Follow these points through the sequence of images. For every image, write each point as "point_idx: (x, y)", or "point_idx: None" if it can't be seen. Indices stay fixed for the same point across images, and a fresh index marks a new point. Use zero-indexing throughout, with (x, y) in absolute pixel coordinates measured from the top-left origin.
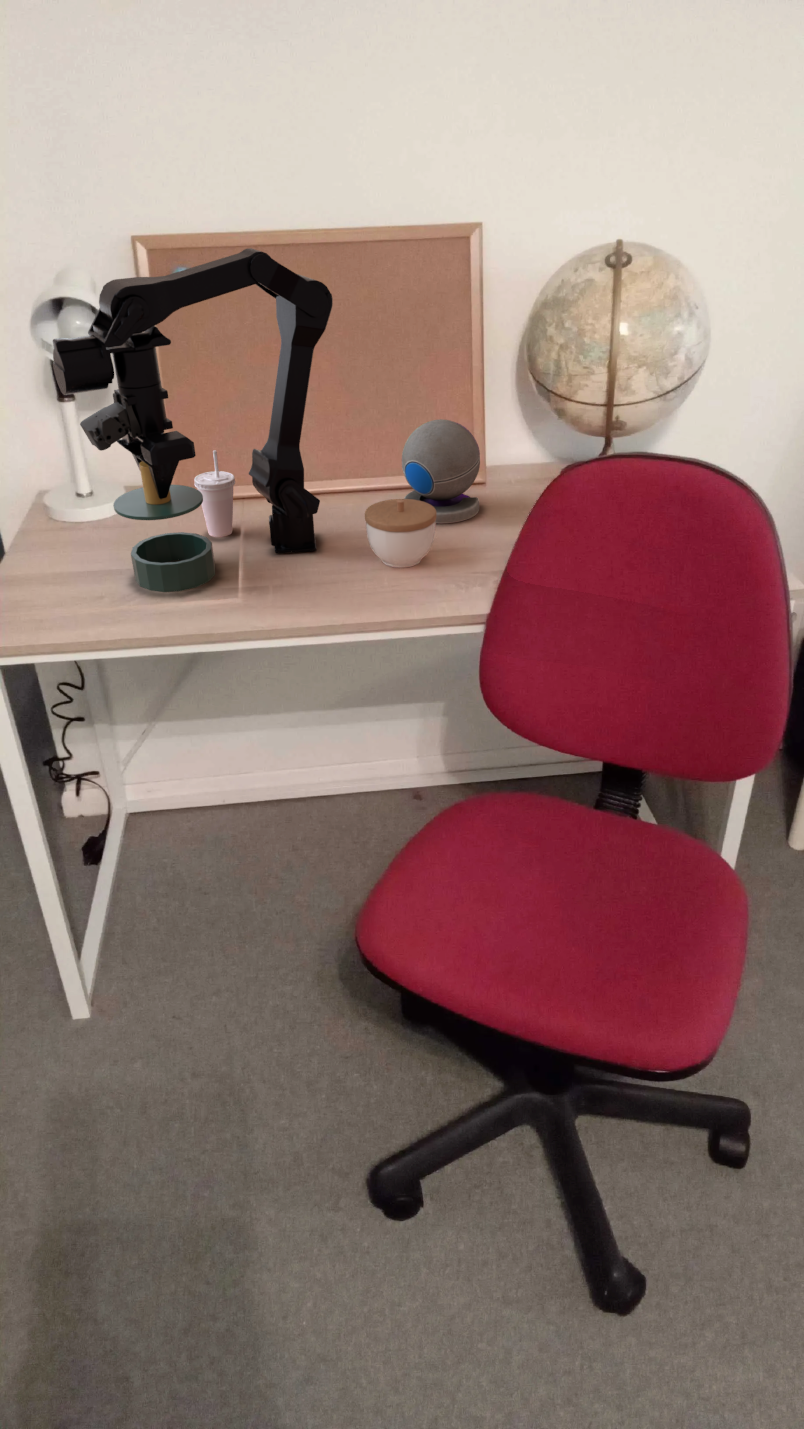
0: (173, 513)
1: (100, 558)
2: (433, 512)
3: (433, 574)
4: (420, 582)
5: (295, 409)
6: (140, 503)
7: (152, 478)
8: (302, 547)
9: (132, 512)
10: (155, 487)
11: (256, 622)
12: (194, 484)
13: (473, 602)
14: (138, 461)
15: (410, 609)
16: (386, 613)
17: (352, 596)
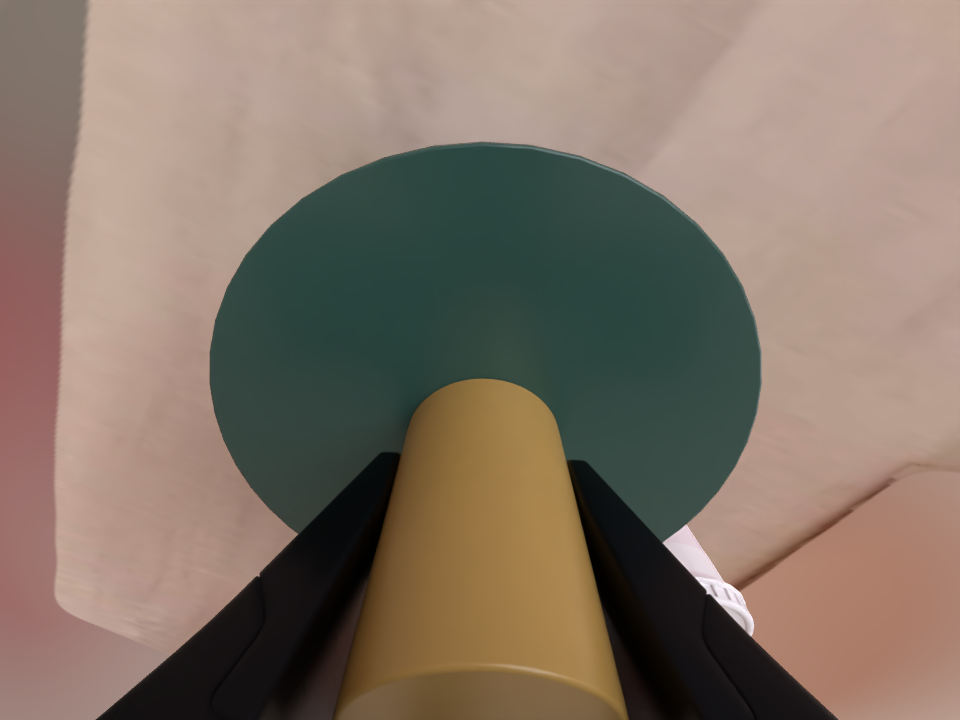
0: (226, 422)
1: (785, 143)
2: None
3: (208, 621)
4: (185, 600)
5: None
6: (504, 346)
7: (330, 571)
8: None
9: (370, 233)
10: (361, 503)
11: (89, 330)
12: (718, 581)
13: (82, 612)
14: (677, 685)
15: (79, 552)
16: (71, 523)
17: (166, 517)
